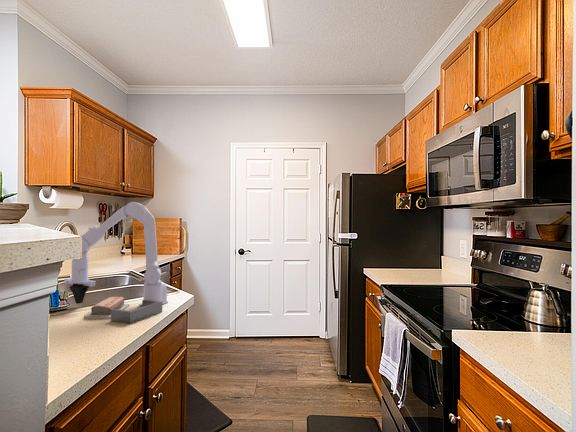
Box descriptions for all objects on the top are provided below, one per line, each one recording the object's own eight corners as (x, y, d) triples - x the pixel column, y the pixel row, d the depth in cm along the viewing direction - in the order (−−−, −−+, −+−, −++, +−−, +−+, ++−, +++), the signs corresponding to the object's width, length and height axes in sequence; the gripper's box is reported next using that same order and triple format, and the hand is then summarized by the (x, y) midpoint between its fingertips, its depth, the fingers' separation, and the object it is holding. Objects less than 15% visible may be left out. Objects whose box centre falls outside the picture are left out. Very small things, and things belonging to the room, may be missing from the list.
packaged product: (104, 295, 147) (129, 295, 148) (104, 307, 147) (129, 307, 148) (83, 306, 129) (111, 306, 130) (83, 320, 129) (111, 320, 130)
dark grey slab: (144, 309, 143) (144, 299, 143) (162, 311, 140) (162, 301, 140) (110, 321, 127) (111, 309, 127) (129, 323, 124) (130, 312, 124)
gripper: (57, 269, 142) (56, 303, 142) (84, 271, 137) (84, 307, 137) (73, 266, 149) (72, 299, 149) (100, 269, 144) (99, 303, 144)
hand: (79, 302), depth 143 cm, fingers closed
